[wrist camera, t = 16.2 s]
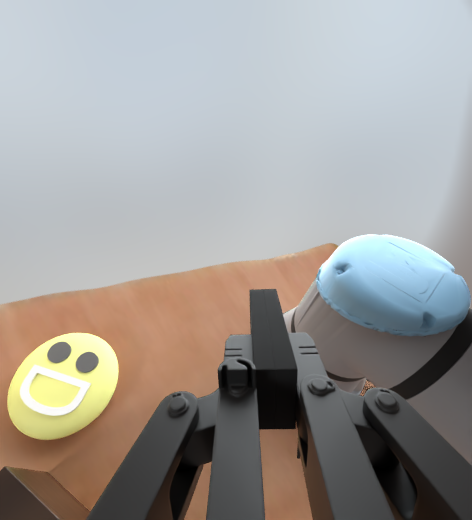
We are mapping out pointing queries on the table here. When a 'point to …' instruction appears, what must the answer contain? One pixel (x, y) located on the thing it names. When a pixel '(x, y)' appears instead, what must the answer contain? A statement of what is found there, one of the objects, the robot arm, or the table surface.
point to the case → (36, 497)
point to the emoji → (62, 386)
